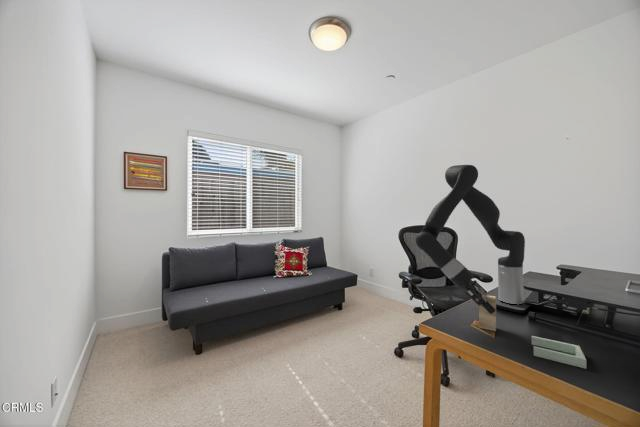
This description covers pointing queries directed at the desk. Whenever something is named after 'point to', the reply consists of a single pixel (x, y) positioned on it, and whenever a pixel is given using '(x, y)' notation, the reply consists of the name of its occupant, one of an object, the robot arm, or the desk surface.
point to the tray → (558, 356)
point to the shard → (488, 332)
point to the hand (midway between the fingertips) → (493, 309)
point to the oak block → (488, 314)
